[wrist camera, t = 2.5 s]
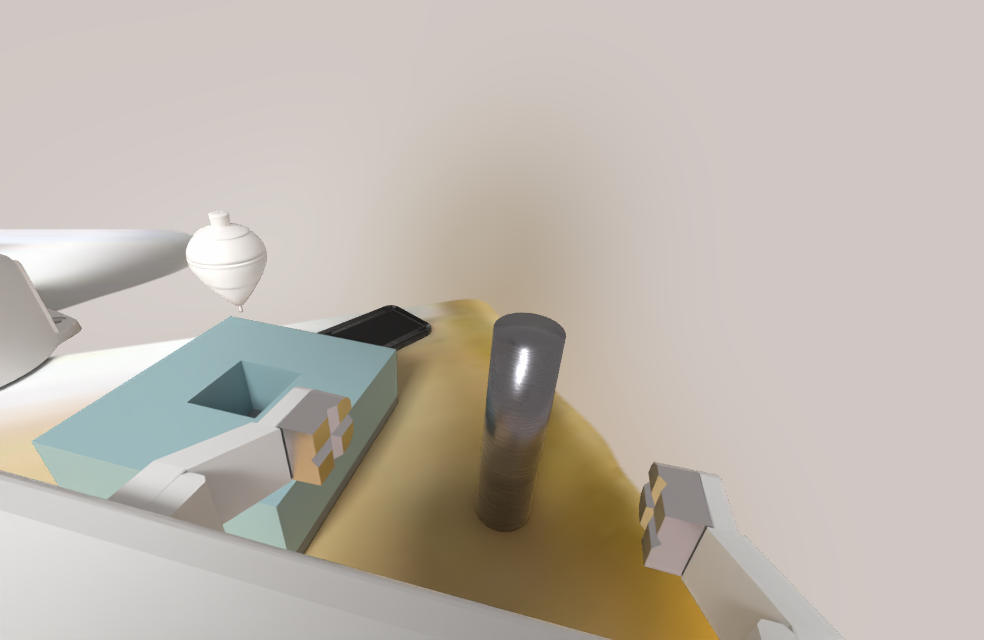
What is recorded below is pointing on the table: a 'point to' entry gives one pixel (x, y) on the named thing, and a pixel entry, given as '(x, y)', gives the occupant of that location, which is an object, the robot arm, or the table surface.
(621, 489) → the table surface
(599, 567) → the table surface
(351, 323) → the phone
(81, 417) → the hole block
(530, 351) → the pin
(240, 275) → the spinning top
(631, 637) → the table surface
